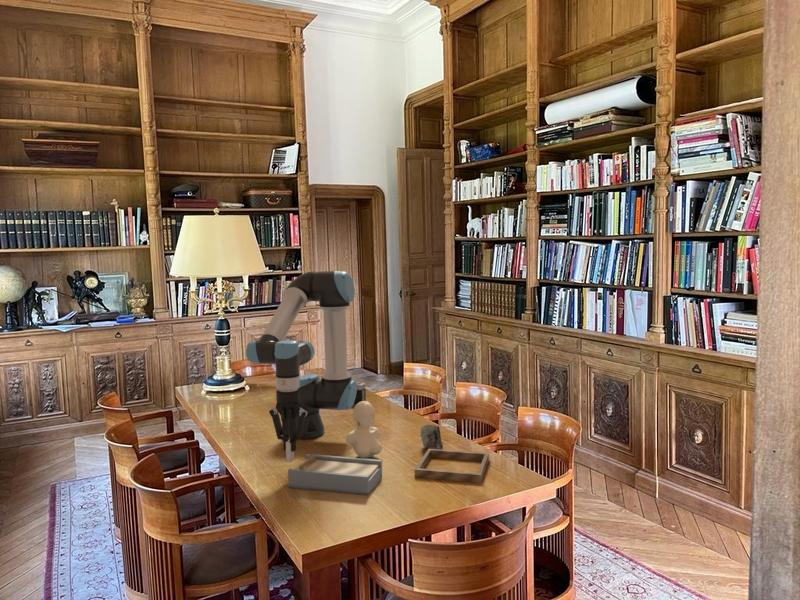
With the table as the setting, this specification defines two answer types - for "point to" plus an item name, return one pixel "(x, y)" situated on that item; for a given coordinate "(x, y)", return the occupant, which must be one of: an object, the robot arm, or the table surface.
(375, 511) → the table surface
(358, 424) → the figurine
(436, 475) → the brown wooden frame
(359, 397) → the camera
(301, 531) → the table surface
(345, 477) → the pencil box
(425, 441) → the stone
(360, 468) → the lid
